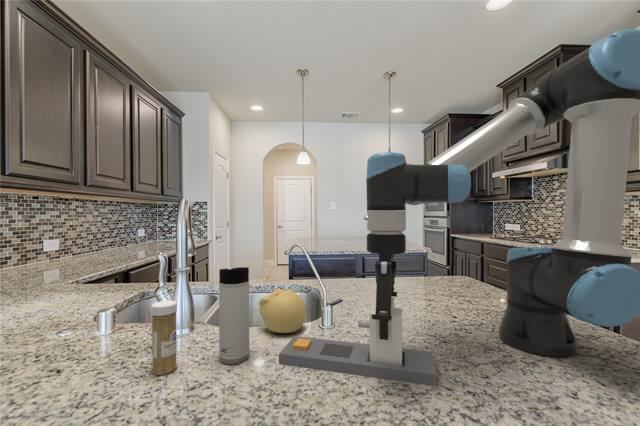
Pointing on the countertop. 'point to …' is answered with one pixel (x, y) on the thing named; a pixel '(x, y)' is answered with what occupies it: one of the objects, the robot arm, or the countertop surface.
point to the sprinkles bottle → (164, 337)
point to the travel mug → (233, 315)
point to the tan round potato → (282, 311)
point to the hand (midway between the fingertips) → (386, 340)
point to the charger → (396, 337)
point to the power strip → (358, 360)
